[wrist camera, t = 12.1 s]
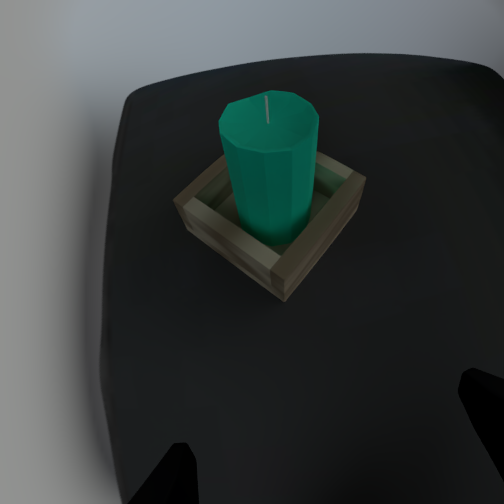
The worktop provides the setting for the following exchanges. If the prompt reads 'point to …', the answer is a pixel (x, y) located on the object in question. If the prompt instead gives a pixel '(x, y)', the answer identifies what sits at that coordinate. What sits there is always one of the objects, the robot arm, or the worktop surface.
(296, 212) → the candle
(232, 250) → the candle holder
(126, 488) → the worktop surface
